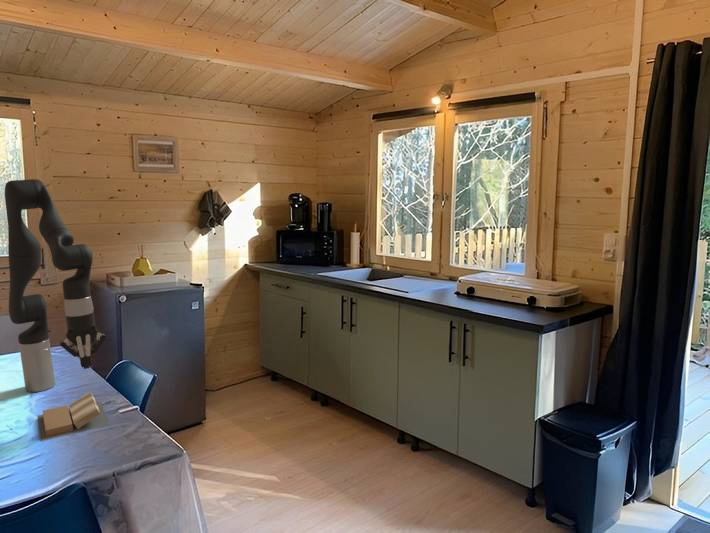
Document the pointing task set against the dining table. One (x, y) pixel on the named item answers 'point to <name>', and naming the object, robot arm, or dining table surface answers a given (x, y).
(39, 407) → the dining table surface
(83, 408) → the oak plank
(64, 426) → the floor section
